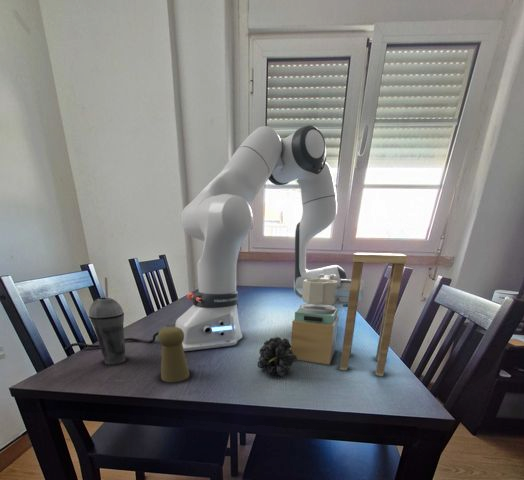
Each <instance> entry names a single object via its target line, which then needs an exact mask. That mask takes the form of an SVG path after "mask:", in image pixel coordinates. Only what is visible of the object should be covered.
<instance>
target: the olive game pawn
mask: <svg viewBox="0 0 524 480" xmlns="http://www.w3.org/2000/svg"><path fill="white" fill-rule="evenodd" d="M166 327H167V326H166ZM166 327H163V328H161V329H160V330H159V331H158V332H159V333H158V335H157V339H158V342H159V343H160V344H161V361H160V364H161V365H160V379H161V381H163V382H165V383H178V382H182V381H185V380H187V379H188V378H189V377H190V371H189V367H188V361H187V357H186V354H185V351H184V349H183V345H182V342H183V340H184V333H183V331H182V330H181V329H180V328H178V327H167V328H166Z"/></svg>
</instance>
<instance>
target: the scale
mask: <svg viewBox="0 0 524 480" xmlns="http://www.w3.org/2000/svg"><path fill="white" fill-rule="evenodd" d="M337 313H338V308H335V307H334V306H331V305H316V304H308V303H303V304H301V305H300V306H299V308H298V309H297V310H296V311H294V319H293V320H292V323H291V341H290V344H291V348H290V349H291V350H292V352H293V355H296V357H297V360H296V361H303V362H308V363H309V362H311V363H317V364H322V365H329V366H330V364H331V362H332V359H333V357H334V354H335V352H336V343H337V342H336V341H337V336H338V326H339V317H340V316H337Z"/></svg>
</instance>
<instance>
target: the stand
mask: <svg viewBox="0 0 524 480" xmlns="http://www.w3.org/2000/svg"><path fill="white" fill-rule="evenodd" d="M407 260H408V255H406V254H403V253H380V252H379V253H378V252H355V253H353V255H352V271H351V278H350V280H351V285H350V293H349V301H348V307H347V310H346V317H345V324H344V325H345V326H344V333H343V340H342V341H343V342H342V350H341V356H340V365H339V370H341V371H348V366H349V358H350V357H351V354H352V349H353V347H352V345H353V341H354V332H355V325H356V318H357V311H358V303H359V301H358V297H359V290H360V283H361V280H362V275H363V268H364V263H373V264H391V268H390V274H389V279H388V286H387V292H386V297H385V302H384V307H383V308H384V309H383V314H382V320H381V326H380V331H379V337H378V343H377V349H376V355H375V361H377V363H376V369H375V376H378V377H384V374H385V368H386V363H387V359H388V354H389V353H388V352H389V347H390V344H391V343H390V342H391V337H392V332H393V326H394V322H395V316H396V310H397V305H398V300H399V294H400V289H401V286H402V285H401V284H402V278H403V273H404V268H405V265H406V264H407Z"/></svg>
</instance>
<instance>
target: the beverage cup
mask: <svg viewBox="0 0 524 480" xmlns="http://www.w3.org/2000/svg"><path fill="white" fill-rule="evenodd" d="M108 287H109V286H108V277H104V293H105V297H99V298H96V299H95V300H94V301H92V303H91V305H90V306H89V309H88V318H89V319H90V323H91V325H92V326H93V329H94V332H95V335H96V339H97V341H98V345H100V347H99V348H100V352H101V355H102V357H103V360H104V363H105V364H106V365H118V364H121V363H124V362H125V361H126V346H125V345H126V344H125V342H126V341H124V339H125V330H124V329H125V327H124V323H125V322H124V321H125V316H124V315H125V312H124V310H123V307H122V305H121V304H120V303H119V302H118V301H117V300H116V299H113V298H111V297H109V288H108Z"/></svg>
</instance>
